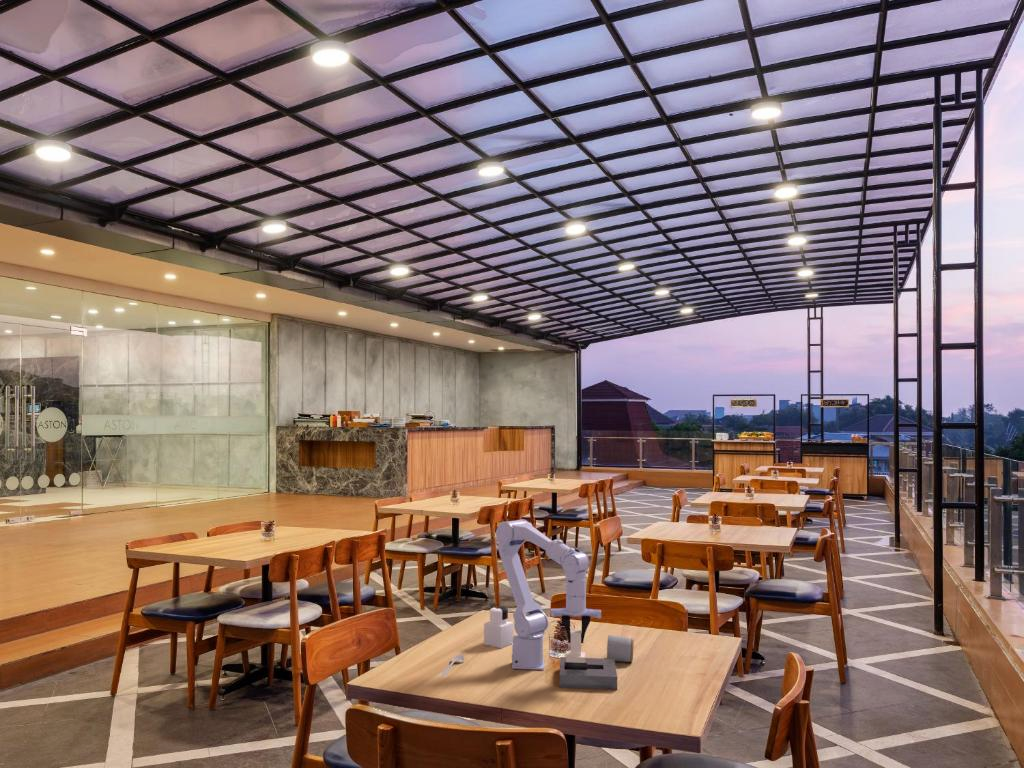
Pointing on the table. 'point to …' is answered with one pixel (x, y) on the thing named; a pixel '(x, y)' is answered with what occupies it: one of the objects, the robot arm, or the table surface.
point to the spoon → (453, 663)
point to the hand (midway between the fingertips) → (575, 642)
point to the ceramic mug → (620, 648)
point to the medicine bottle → (498, 628)
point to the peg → (575, 648)
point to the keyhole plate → (588, 674)
